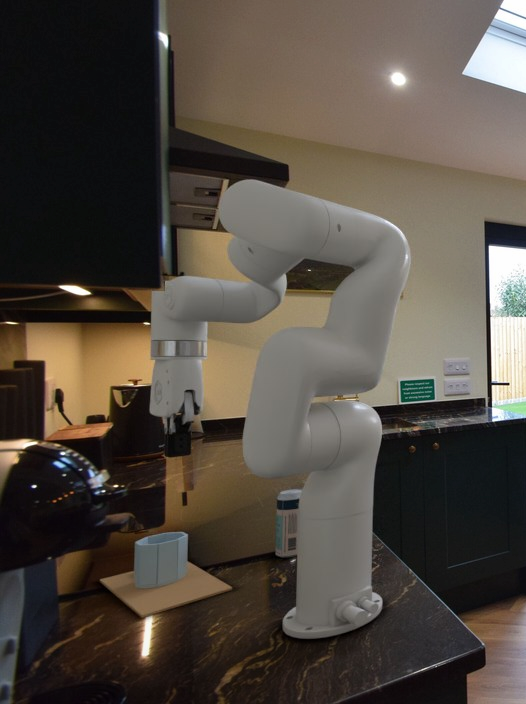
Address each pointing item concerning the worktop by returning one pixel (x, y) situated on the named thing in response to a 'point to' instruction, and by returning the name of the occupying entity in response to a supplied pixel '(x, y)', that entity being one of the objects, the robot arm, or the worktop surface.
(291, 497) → the white labelled bottle
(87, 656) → the worktop surface
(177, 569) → the pale-blue faceted part
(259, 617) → the worktop surface
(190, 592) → the cork mat
